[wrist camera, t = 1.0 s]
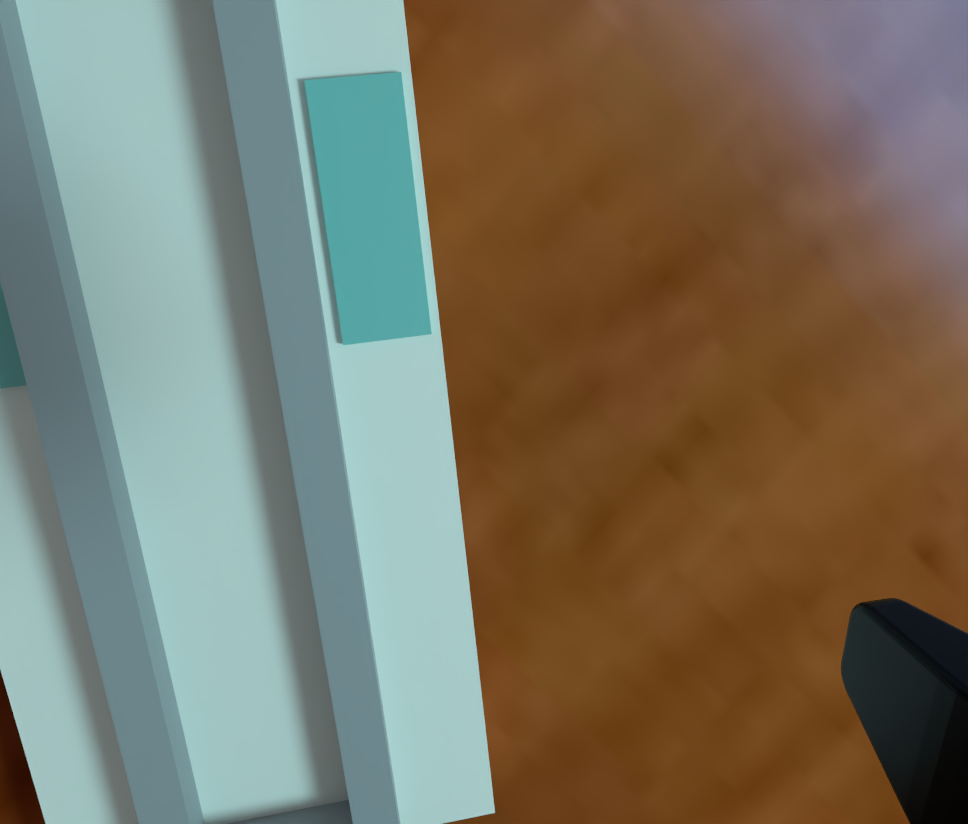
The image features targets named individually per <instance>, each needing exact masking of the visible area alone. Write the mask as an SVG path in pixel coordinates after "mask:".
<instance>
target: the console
mask: <svg viewBox="0 0 968 824" xmlns="http://www.w3.org/2000/svg"><path fill="white" fill-rule="evenodd" d="M0 670H1V674H2V677H3V680H4V684H5V687H6V691H7V694H8V697H9V701H10V704H11V708H12V711H13V714H14V718H15V721H16V725H17V728H18V731H19V735H20V738H21V742H22V745H23V748H24V752H25V755H26V759H27V762H28V765H29V769H30V772H31V776H32V779H33V783H34V786H35V789H36V793H37V796H38V800H39V803H40V806H41V810H42V813H43V817H44V820H45V823H46V824H442V823H447V822H452V821H457V820H462V819H467V818H472V817H477V816H481V815H486V814H491V813H495V809H494V800H493V791H492V782H491V773H490V764H489V756H488V747H487V738H486V729H485V720H484V711H483V702H482V694H481V685H480V676H479V667H478V658H477V649H476V641H475V632H474V623H473V614H472V605H471V596H470V588H469V579H468V570H467V561H466V552H465V543H464V535H463V526H462V517H461V508H460V499H459V490H458V482H457V473H456V464H455V455H454V446H453V437H452V429H451V420H450V411H449V402H448V393H447V384H446V376H445V367H444V358H443V349H442V340H441V331H440V323H439V314H438V305H437V296H436V287H435V278H434V270H433V261H432V252H431V243H430V234H429V225H428V217H427V208H426V199H425V190H424V181H423V172H422V164H421V155H420V146H419V137H418V128H417V119H416V111H415V102H414V93H413V84H412V75H411V66H410V58H409V49H408V40H407V31H406V22H405V13H404V4H403V0H0Z"/></svg>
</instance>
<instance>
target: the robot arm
mask: <svg viewBox="0 0 968 824" xmlns="http://www.w3.org/2000/svg"><path fill="white" fill-rule="evenodd" d="M841 673H842V679H843V683H844V686H845V689H846V691H847V693H848V695H849V697H850V700H851V702H852V704H853V706H854V708H855V710H856V712H857V714H858V716H859V718H860V720H861V723H862V725H863V727H864V729H865V731H866V733H867V735H868V737H869V739H870V741H871V743H872V746H873V748H874V750H875V752H876V754H877V756H878V758H879V760H880V762H881V764H882V767H883V769H884V771H885V773H886V775H887V777H888V779H889V781H890V783H891V785H892V787H893V790H894V792H895V794H896V796H897V798H898V800H899V802H900V804H901V806H902V808H903V810H904V812H905V814H906V816H907V818H908V820H909V822H910V824H968V633H966V632H964V631H962V630H960V629H958V628H956V627H954V626H952V625H950V624H948V623H946V622H944V621H942V620H940V619H938V618H936V617H934V616H932V615H930V614H928V613H926V612H924V611H923V610H921V609H919V608H917V607H915V606H913V605H911V604H909V603H907V602H905V601H902V600H900V599H895V598H888V599H881V600H875V601H868V602H862V603H859V604H857V605H856V606H855V607H854V608H853V610H852V611H851V615H850V619H849V625H848V630H847V635H846V641H845V646H844V652H843V657H842V663H841Z"/></svg>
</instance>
